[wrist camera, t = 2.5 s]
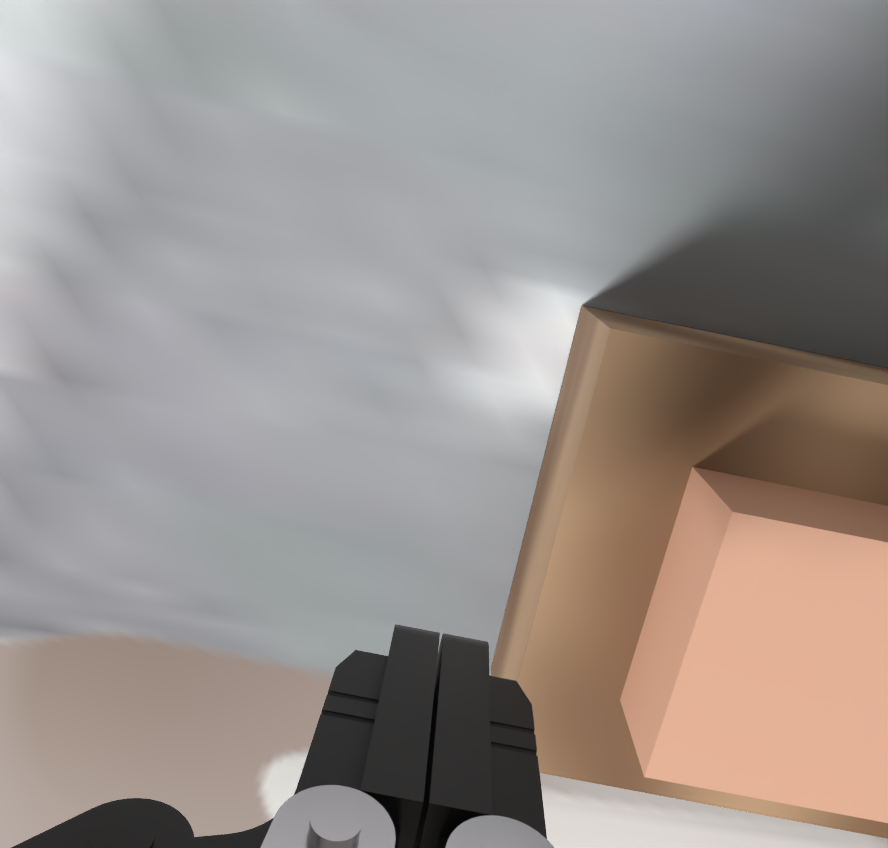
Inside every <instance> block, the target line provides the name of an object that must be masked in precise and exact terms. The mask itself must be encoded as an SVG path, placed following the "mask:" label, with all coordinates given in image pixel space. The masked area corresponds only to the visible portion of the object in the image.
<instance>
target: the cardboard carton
mask: <svg viewBox="0 0 888 848" xmlns="http://www.w3.org/2000/svg"><path fill="white" fill-rule="evenodd" d="M692 467H696V468H701V469H706V470H711V471H716V472H721V473H726V474H731V475H736V476H741V477H746V478H751V479H756V480H761V481H766V482H771V483H776V484H781V485H786V486H791V487H796V488H801V489H806V490H811V491H816V492H821V493H826V494H831V495H836V496H841V497H846V498H851V499H856V500H861V501H866V502H871V503H876V504H881V505H886V506H888V368H884V367H879V366H874V365H869V364H865V363H860V362H855V361H850V360H845V359H840V358H835V357H830V356H825V355H821V354H816V353H811V352H806V351H801V350H796V349H791V348H786V347H781V346H777V345H772V344H767V343H762V342H757V341H752V340H747V339H742V338H737V337H732V336H728V335H723V334H718V333H713V332H708V331H703V330H698V329H693V328H688V327H684V326H679V325H674V324H669V323H664V322H659V321H654V320H649V319H644V318H640V317H635V316H630V315H625V314H620V313H615V312H610V311H605V310H600V309H596V308H591V307H586V306H581V309H580V313H579V317H578V321H577V325H576V329H575V333H574V337H573V341H572V345H571V349H570V353H569V358H568V362H567V366H566V370H565V374H564V378H563V382H562V386H561V390H560V394H559V398H558V402H557V406H556V410H555V414H554V418H553V422H552V426H551V430H550V434H549V438H548V442H547V446H546V450H545V454H544V458H543V462H542V466H541V470H540V474H539V478H538V482H537V486H536V490H535V494H534V498H533V502H532V506H531V510H530V514H529V518H528V522H527V526H526V530H525V534H524V538H523V542H522V546H521V550H520V554H519V558H518V562H517V566H516V570H515V574H514V578H513V582H512V586H511V590H510V594H509V598H508V602H507V606H506V610H505V614H504V618H503V622H502V626H501V630H500V634H499V638H498V642H497V646H496V650H495V654H494V658H493V662H492V666H491V676H494V677H499V678H505V679H510V680H515V681H517V682H518V684H519V685H520V687H521V689H522V690H523V692H524V693H525V695H526V696H527V698H528V699H529V701H530V702H531V704H532V709H533V718H534V727H535V731H534V734H535V736H536V746H537V754H536V756H538V764H539V773H544V774H549V775H554V776H560V777H566V778H571V779H576V780H581V781H587V782H592V783H597V784H603V785H607V786H613V787H618V788H624V789H629V790H634V791H639V792H645V793H650V794H655V795H660V796H666V797H671V798H676V799H682V800H687V801H692V802H698V803H703V804H708V805H713V806H719V807H724V808H729V809H735V810H740V811H745V812H750V813H756V814H761V815H767V816H772V817H777V818H782V819H788V820H793V821H798V822H803V823H809V824H814V825H819V826H825V827H830V828H835V829H841V830H846V831H851V832H856V833H862V834H867V835H872V836H878V837H883V838H888V823H884V822H879V821H874V820H868V819H863V818H858V817H853V816H847V815H842V814H837V813H831V812H826V811H821V810H816V809H810V808H805V807H800V806H794V805H789V804H784V803H779V802H773V801H768V800H763V799H757V798H752V797H747V796H742V795H736V794H731V793H726V792H721V791H715V790H710V789H705V788H699V787H694V786H689V785H684V784H678V783H673V782H668V781H662V780H657V779H652V778H647V777H644V775H643V771H642V768H641V765H640V762H639V759H638V756H637V752H636V749H635V746H634V743H633V740H632V736H631V733H630V730H629V727H628V724H627V721H626V717H625V714H624V711H623V708H622V705H621V701H620V698H621V695H622V692H623V689H624V685H625V682H626V679H627V676H628V673H629V669H630V666H631V663H632V660H633V656H634V653H635V650H636V647H637V644H638V640H639V637H640V634H641V631H642V627H643V624H644V621H645V618H646V615H647V611H648V608H649V605H650V602H651V598H652V595H653V592H654V589H655V586H656V582H657V579H658V576H659V573H660V569H661V566H662V563H663V560H664V556H665V553H666V550H667V547H668V544H669V540H670V537H671V534H672V531H673V527H674V524H675V521H676V518H677V515H678V511H679V508H680V505H681V502H682V498H683V495H684V492H685V489H686V486H687V482H688V479H689V476H690V473H691V469H692Z"/></svg>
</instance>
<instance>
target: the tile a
mask: <svg viewBox="0 0 888 848" xmlns="http://www.w3.org/2000/svg"><path fill="white" fill-rule="evenodd" d="M620 701H621V705H622V708H623V711H624V714H625V717H626V721H627V724H628V727H629V730H630V733H631V736H632V740H633V743H634V746H635V749H636V752H637V756H638V759H639V762H640V765H641V768H642V771H643V775H644V777H647V778H652V779H657V780H662V781H668V782H673V783H678V784H684V785H689V786H694V787H699V788H705V789H710V790H715V791H721V792H726V793H731V794H736V795H742V796H747V797H752V798H757V799H763V800H768V801H773V802H779V803H784V804H789V805H794V806H800V807H805V808H810V809H816V810H821V811H826V812H831V813H837V814H842V815H847V816H853V817H858V818H863V819H868V820H874V821H879V822H884V823H888V506H886V505H881V504H876V503H871V502H866V501H861V500H856V499H851V498H846V497H841V496H836V495H831V494H826V493H821V492H816V491H811V490H806V489H801V488H796V487H791V486H786V485H781V484H776V483H771V482H766V481H761V480H756V479H751V478H746V477H741V476H736V475H731V474H726V473H721V472H716V471H711V470H706V469H701V468H696V467H692V469H691V473H690V476H689V479H688V482H687V486H686V489H685V492H684V495H683V498H682V502H681V505H680V508H679V511H678V515H677V518H676V521H675V524H674V527H673V531H672V534H671V537H670V540H669V544H668V547H667V550H666V553H665V556H664V560H663V563H662V566H661V569H660V573H659V576H658V579H657V582H656V586H655V589H654V592H653V595H652V598H651V602H650V605H649V608H648V611H647V615H646V618H645V621H644V624H643V627H642V631H641V634H640V637H639V640H638V644H637V647H636V650H635V653H634V656H633V660H632V663H631V666H630V669H629V673H628V676H627V679H626V682H625V685H624V689H623V692H622V695H621V698H620Z"/></svg>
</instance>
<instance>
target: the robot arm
mask: <svg viewBox="0 0 888 848" xmlns="http://www.w3.org/2000/svg"><path fill="white" fill-rule="evenodd" d="M439 635H440V633H437V632H432V631H427V630H422V629H417V628H411V627H406V626H401V625H396V624H395V628H394V632H393V637H392V642H391V647H390V651H389V656H384V655H379V654H373V653H368V652H363V651H358V650H355V651H354V652H353V653H352V654H351V655H349V656H348V657H347V658H346V659H345V660H344V661H343V662H341V663H340V664H339V665H338V666H337V667H336V669H335V672H334V675H333V678H332V681H331V684H330V687H329V691H328V695H327V697H326V700H325V703H324V706H323V709H322V714H321V715H320V718H319V721H318V724H317V728H316V731H315V734H314V737H313V740H312V743H311V746H310V749H309V752H308V755H307V758H306V761H305V764H304V768H303V771H302V774H301V777H300V780H299V783H298V786H297V789H296V791H295V794H294V795H293V796H292V797H291V798H289V799H288V800H287V801H286V802H285V803H284V804H283V805H282V806H281V807H280V808H279V810H278V811H277V813H276V815H275V817H274V818H273V819H271V820H269V821H268V822H266V823H264V824H262V825H260V826H258V827H255V828H253V829H250V830H246V831H243V832H239V833H232V834H226V835H225V834H224V835H214V836H203V837H194V834H193V831H192V828H191V826H190V824H189V822H188V821H187V820H186V818H185V817H184V816H183V815H182V814H181V813H180V812H179V811H178V810H176V809H175V808H173V807H171V806H170V805H167V804H165V803H162V802H159V801H155V800H151V799H140V798H133V799H122V800H116V801H112V802H108V803H105V804H102V805H100V806H97V807H95V808H92V809H91V810H88V811H86V812H84V813H82V814H80V815H78V816H76V817H74V818H72V819H70V820H68V821H65V822H64V823H61V824H59V825H57V826H55V827H53V828H51V829H49V830H47V831H45V832H43V833H41V834H39V835H37V836H34V837H32V838H31V839H28V840H26V841H24V842H22V843H20V844H18V845H16V846H14V847H12V848H554V847H553V846H552V844H551V843H550V842H549V841H548V840H547V837H546V828H545V819H544V809H543V800H542V791H541V782H540V773H539V764H538V756H536V754H537V746H536V736H535V734H534V731H535V727H534V718H533V709H532V704H531V702H530V701H529V699H528V698H527V696H526V695H525V693H524V692H523V690H522V689H521V687H520V685H519V684H518V682H517V681H515V680H510V679H505V678H499V677H494V676H489V645H488V642H485V641H480V640H475V639H470V638H464V637H459V636H454V635H449V634H444V633H443V635H442V639H441V643H440V647H439V652H438V646H439ZM437 656H438V657H437Z"/></svg>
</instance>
